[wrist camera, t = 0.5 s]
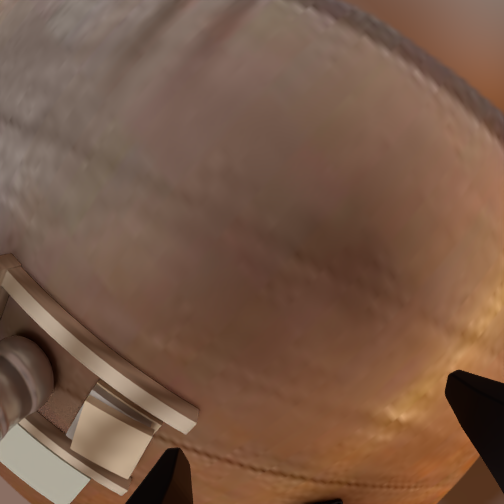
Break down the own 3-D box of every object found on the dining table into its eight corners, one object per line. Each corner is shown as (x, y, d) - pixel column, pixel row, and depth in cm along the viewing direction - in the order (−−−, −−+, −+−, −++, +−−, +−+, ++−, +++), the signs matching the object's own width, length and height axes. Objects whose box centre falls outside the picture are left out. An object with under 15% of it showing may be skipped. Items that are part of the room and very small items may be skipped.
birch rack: (200, 407, 23) (184, 523, 11) (125, 484, 23) (97, 566, 12) (11, 253, 20) (-93, 275, 9) (-24, 362, 21) (-91, 407, 9)
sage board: (93, 473, 23) (90, 479, 22) (66, 505, 24) (64, 509, 23) (6, 405, 22) (1, 409, 21) (-5, 449, 22) (-9, 453, 21)
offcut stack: (169, 422, 23) (163, 443, 20) (131, 463, 24) (124, 483, 21) (101, 377, 22) (88, 393, 19) (72, 425, 23) (60, 442, 20)
